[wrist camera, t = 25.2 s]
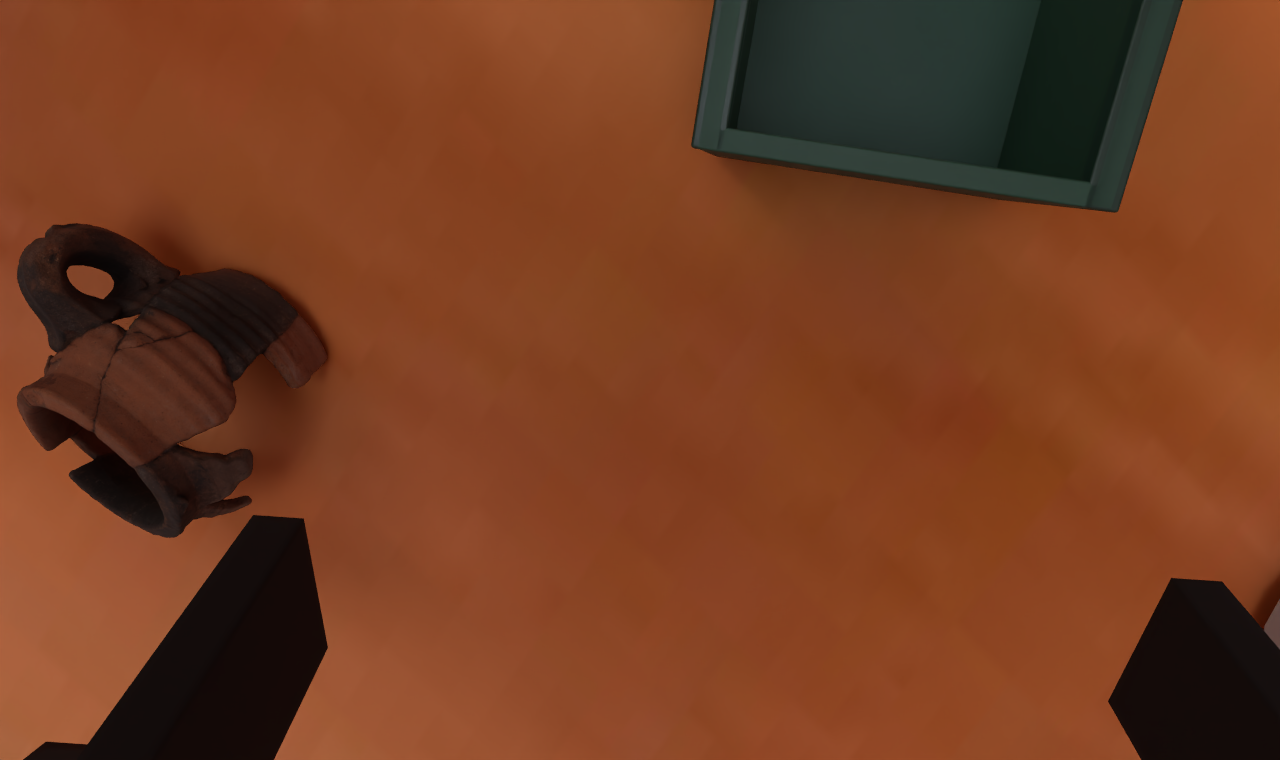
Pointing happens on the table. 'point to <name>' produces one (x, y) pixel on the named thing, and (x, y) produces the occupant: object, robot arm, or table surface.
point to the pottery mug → (151, 372)
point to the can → (1274, 625)
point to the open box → (939, 92)
